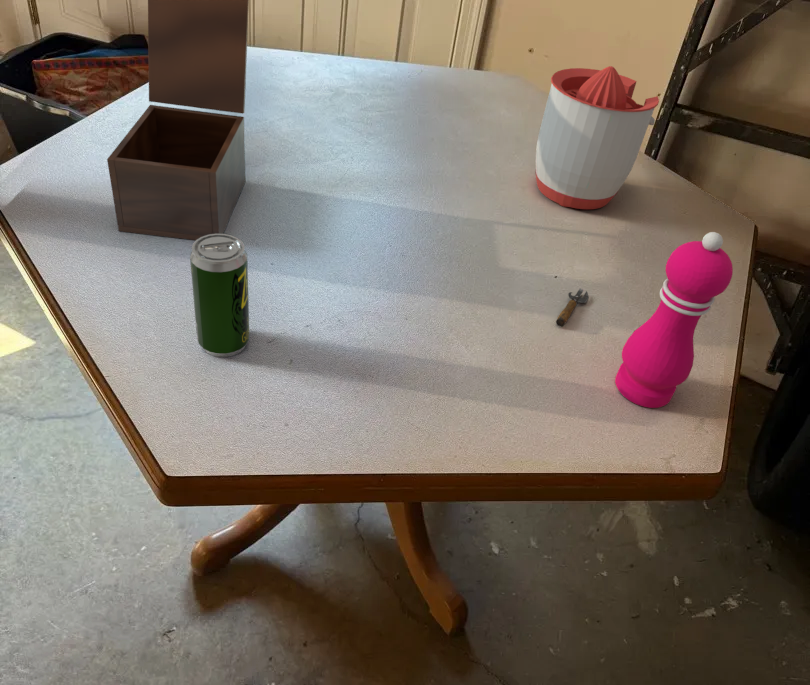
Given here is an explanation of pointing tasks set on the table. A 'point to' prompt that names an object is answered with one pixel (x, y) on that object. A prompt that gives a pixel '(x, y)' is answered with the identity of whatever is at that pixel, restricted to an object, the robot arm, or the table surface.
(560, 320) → the can opener
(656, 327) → the pepper mill
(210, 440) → the table surface
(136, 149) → the chest
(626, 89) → the citrus juicer
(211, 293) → the beer can
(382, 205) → the table surface
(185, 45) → the lid
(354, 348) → the table surface
